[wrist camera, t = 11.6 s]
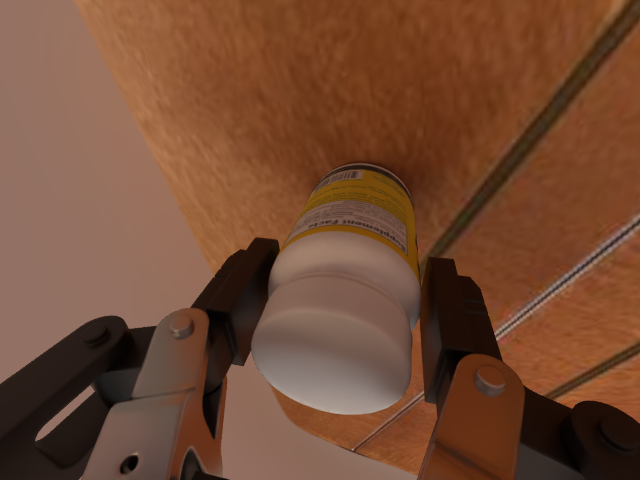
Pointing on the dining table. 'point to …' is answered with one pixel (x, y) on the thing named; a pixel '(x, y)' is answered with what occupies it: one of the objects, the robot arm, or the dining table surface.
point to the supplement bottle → (344, 296)
